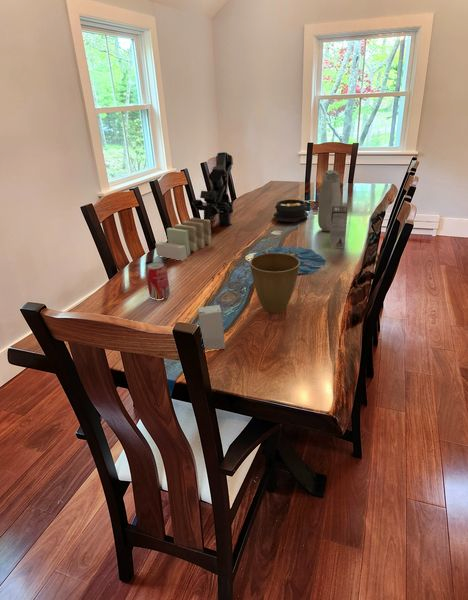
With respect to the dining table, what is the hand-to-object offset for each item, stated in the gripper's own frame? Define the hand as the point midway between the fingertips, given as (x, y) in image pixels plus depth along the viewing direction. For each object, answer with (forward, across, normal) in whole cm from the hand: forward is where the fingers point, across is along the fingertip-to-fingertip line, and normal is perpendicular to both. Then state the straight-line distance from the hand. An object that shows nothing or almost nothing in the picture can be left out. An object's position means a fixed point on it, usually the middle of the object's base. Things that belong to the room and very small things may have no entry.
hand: (204, 222), depth 186 cm
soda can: (+47, +20, -34) cm, 61 cm away
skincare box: (+59, +54, -46) cm, 92 cm away
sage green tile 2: (+13, 0, 0) cm, 13 cm away
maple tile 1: (+9, 0, +4) cm, 9 cm away
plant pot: (+39, +59, -26) cm, 76 cm away
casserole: (-28, +22, +40) cm, 54 cm away
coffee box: (-6, +58, +19) cm, 61 cm away
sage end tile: (+20, 0, -8) cm, 22 cm away
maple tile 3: (+16, 0, -4) cm, 17 cm away
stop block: (+24, 0, -12) cm, 27 cm away
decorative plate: (+12, +46, +1) cm, 48 cm away
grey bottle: (-19, +47, +31) cm, 60 cm away
